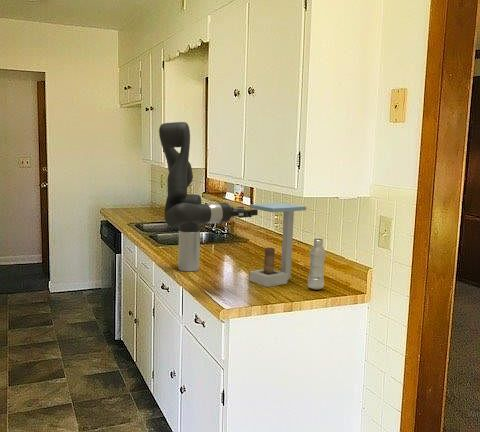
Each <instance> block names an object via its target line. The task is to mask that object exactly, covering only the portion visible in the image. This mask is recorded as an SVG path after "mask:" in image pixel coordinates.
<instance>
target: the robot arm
mask: <svg viewBox="0 0 480 432" xmlns="http://www.w3.org/2000/svg"><path fill="white" fill-rule="evenodd" d="M158 133H159V134H158V135H159V136H158V137H159V140H160V143H161V148H162V150H163V152H164V153H163V154H164V156H165V159H166V163H167V171H168V175H167V180H166V181H167V183H166V184H167V185H166V186H167V197H166V200H165V206H164V211H163V213H164V214H163V216H164V221H165V222H166V224H167V226H169V227H171V228H178V250H177V252H178V254H177V255H178V256H177V257H178V258H177V259H178V260H177V262H178V263H177V269H178V270H179V271H181V272H195V271H199V270H200V249H201V248H200V247H201V246H200V245H201V244H200V242H201V241H200V239H201V238H200V237H201V225H202V224H221V223H229V222H230V220H231V219H232V218H239V219H241V218H242V219H243V218H252V217H253V216H258V213H259V212H258V211H259V210H257V209H251V208H250V209H245V207H244V206H235V205H230V204H229V203H228V202H226V201H225V202H210V203H202V197H201V195H200V194H191V193H190V194H189V193H188V187H190V185H191V183H192V182H193V179H194V176H193V168H192V164H191V162H190V161H189V159H190V158H189V157H190V146H191V145H190V144H191V130H190V126H189V124H188V123H187V122H185V121H175V122H174V121H173V122H164V123H161V124H160V126H159V129H158ZM175 148H180V151H177V150H176V149H175Z"/></svg>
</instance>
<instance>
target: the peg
mask: <svg viewBox="0 0 480 432" xmlns="http://www.w3.org/2000/svg"><path fill="white" fill-rule="evenodd" d="M275 250H276V248H275V247H265V248H264V262H263V269H264V274H267V275H271V274H274V270H275V252H276V251H275Z"/></svg>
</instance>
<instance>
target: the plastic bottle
mask: <svg viewBox="0 0 480 432" xmlns="http://www.w3.org/2000/svg"><path fill="white" fill-rule="evenodd" d="M312 243H313V246H312V247H311V248H310V249H309V265H310V266H309V273H308V278H307V286H308V288H309V289H311V290H322V289H323V288H324V284H325V277H324V269H325V267H324V266H325V260H326V254H327V252H326V250H325V247H324V239H323V238H313V242H312Z"/></svg>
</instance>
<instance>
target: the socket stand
mask: <svg viewBox="0 0 480 432" xmlns="http://www.w3.org/2000/svg"><path fill="white" fill-rule="evenodd" d="M249 206H250V209H251V210H253V209H256V210H258V211H263V212H269V213H282V212H283V219H282V220H283V221H282V222H283V223H282V238H281V239H282V241H281V243H282V244H281V259H280V260H281V261H280V263H281V264H280V270H277V269H274V274H271V275H267V274H264V268H262V269H257V270H250V271H249V281H250V282H252V283H255V284H258V285H260V286H262V287H263V286H264V287H266V288H268V287H269V288H270V287H274V286H279V285H286V284H288V281H289V279H290V280H292V279H291V276H292V261H293V260H292V255H293V237H294V222H295V221H294V216H295V212H300V211H302V212H304V211H307V206H306V205H298V204H293V203H287V202H274V203H273V202H272V203H254V204H253V203H252V204H250V205H249Z"/></svg>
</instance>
